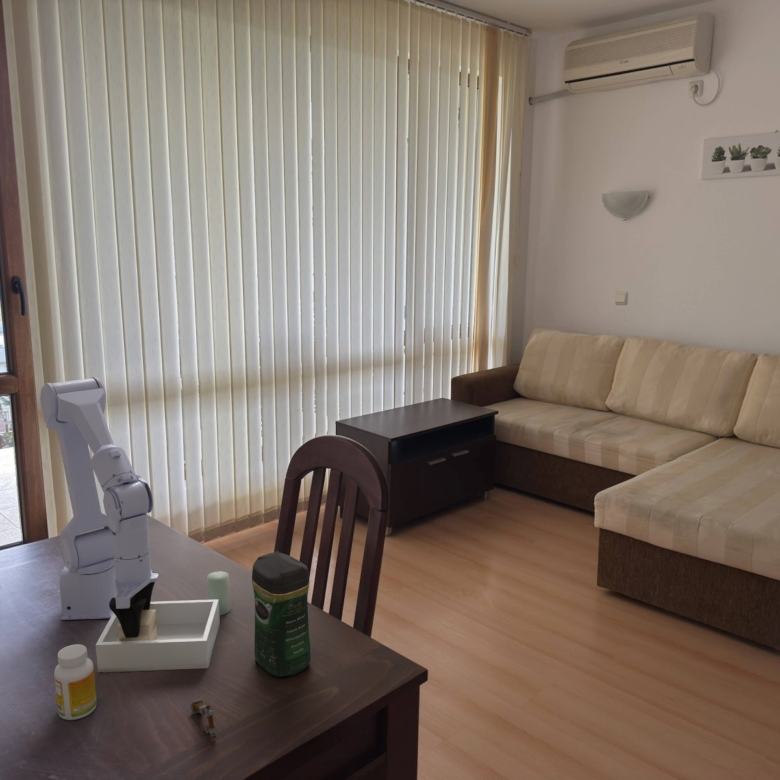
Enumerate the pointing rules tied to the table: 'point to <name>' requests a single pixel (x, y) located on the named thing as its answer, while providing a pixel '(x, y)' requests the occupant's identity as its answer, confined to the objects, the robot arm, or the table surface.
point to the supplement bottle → (74, 683)
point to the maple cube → (143, 627)
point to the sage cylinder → (219, 590)
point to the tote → (164, 639)
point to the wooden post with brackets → (207, 711)
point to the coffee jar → (281, 614)
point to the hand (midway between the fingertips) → (137, 625)
